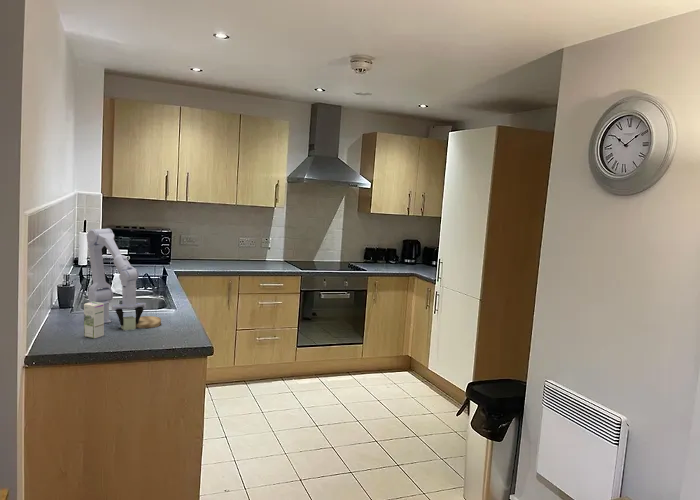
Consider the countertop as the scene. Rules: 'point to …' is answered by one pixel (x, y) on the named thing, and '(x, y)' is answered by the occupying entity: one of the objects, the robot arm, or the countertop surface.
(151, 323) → the base
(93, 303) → the syrup box
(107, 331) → the countertop surface
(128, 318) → the cube
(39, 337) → the countertop surface
